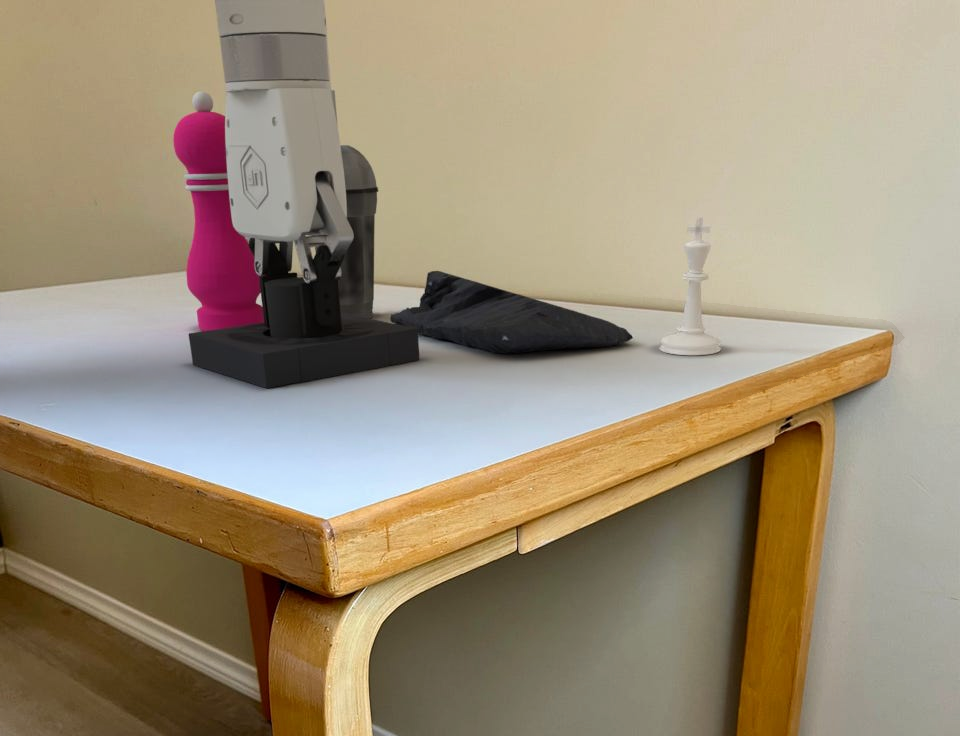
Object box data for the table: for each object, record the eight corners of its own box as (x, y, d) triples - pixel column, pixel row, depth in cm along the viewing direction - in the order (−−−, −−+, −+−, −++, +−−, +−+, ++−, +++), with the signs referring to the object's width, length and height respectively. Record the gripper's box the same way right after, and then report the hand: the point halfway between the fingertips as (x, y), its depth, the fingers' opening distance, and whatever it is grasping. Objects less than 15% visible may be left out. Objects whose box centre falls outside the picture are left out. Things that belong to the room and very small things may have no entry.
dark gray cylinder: (292, 342, 77) (286, 287, 75) (258, 334, 81) (252, 281, 79) (349, 333, 80) (344, 280, 78) (314, 325, 84) (309, 275, 82)
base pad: (266, 388, 73) (262, 353, 72) (192, 365, 81) (187, 333, 80) (419, 360, 81) (418, 328, 80) (338, 341, 89) (335, 312, 88)
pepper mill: (280, 320, 100) (255, 91, 91) (253, 334, 93) (223, 88, 84) (212, 320, 101) (180, 93, 92) (181, 333, 95) (143, 91, 86)
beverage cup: (314, 325, 97) (291, 88, 88) (313, 313, 104) (292, 92, 94) (389, 321, 98) (374, 87, 89) (383, 310, 104) (369, 90, 95)
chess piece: (667, 342, 85) (675, 214, 81) (725, 345, 84) (737, 215, 79) (653, 353, 81) (660, 219, 77) (714, 357, 80) (725, 220, 75)
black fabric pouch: (483, 367, 78) (482, 303, 76) (381, 325, 96) (378, 273, 94) (647, 346, 84) (650, 286, 82) (522, 311, 102) (522, 261, 100)
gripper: (175, 74, 76) (210, 324, 84) (293, 59, 64) (320, 351, 72) (263, 75, 80) (288, 313, 88) (389, 62, 68) (404, 337, 76)
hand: (302, 328), depth 80 cm, fingers closed on dark gray cylinder, 5 cm apart
